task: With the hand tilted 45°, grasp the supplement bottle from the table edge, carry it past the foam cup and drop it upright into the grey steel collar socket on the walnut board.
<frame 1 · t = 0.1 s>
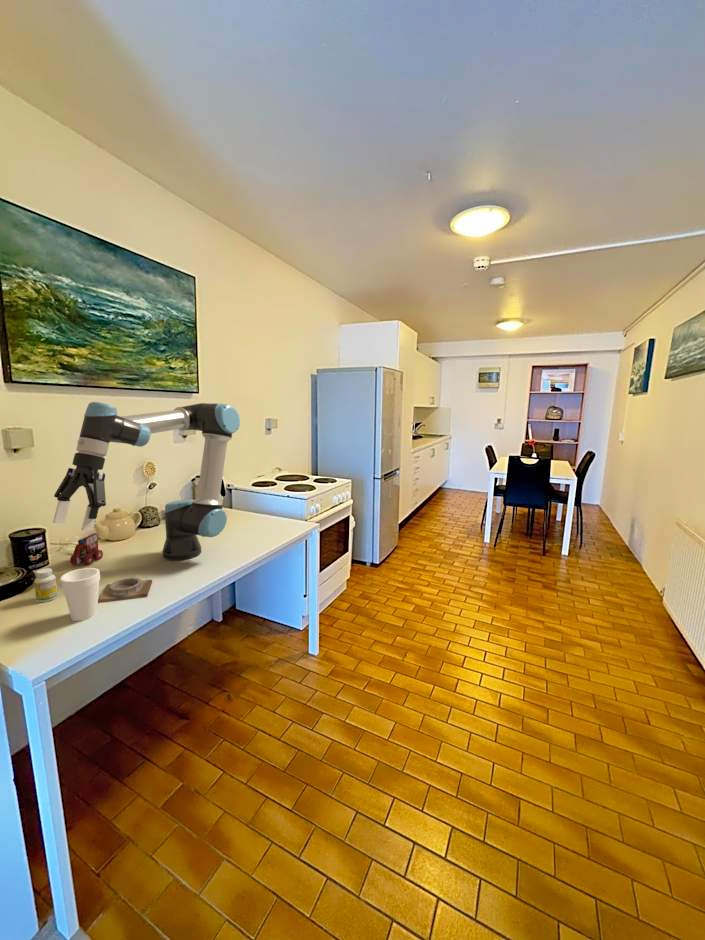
hand: (72, 526, 110), 28 cm above the table, tool tilted 20°, fingers open, 13 cm apart
foam cup: (84, 615, 115), on the table
socket board: (126, 591, 130), on the table
supplement bottle: (47, 599, 124), on the table
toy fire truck: (87, 562, 153), on the table
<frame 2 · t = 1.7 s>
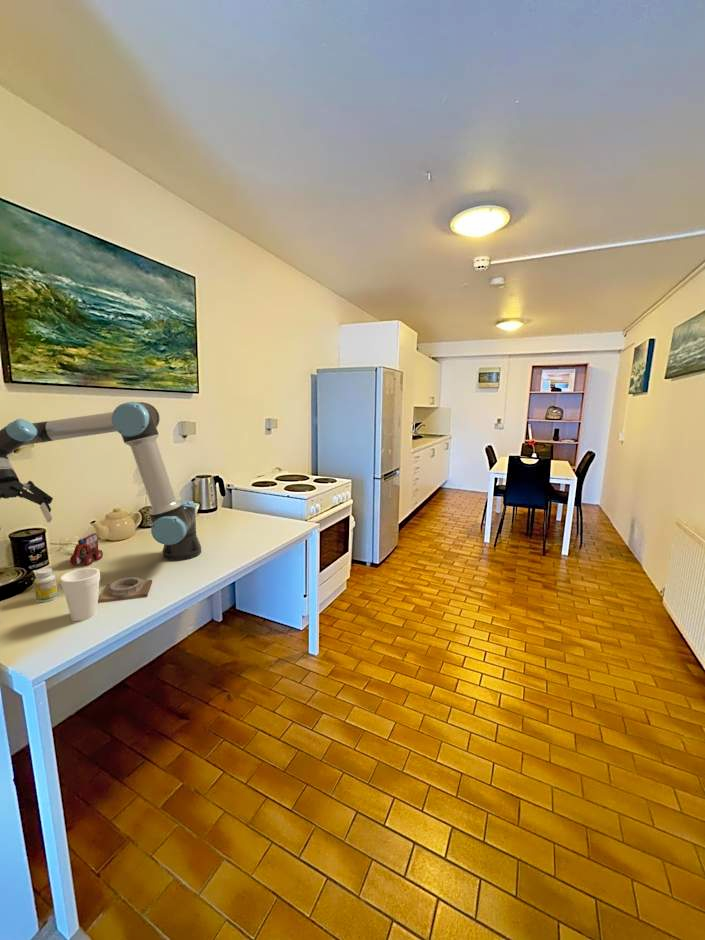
hand: (25, 525, 125), 23 cm above the table, tool tilted 45°, fingers open, 13 cm apart
nothing on the table moved.
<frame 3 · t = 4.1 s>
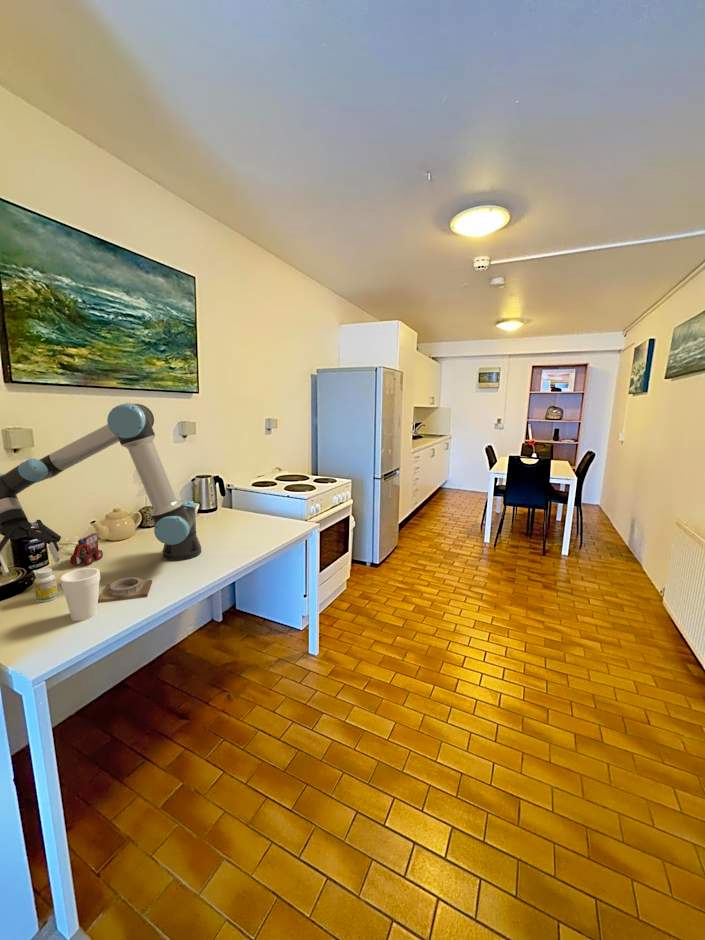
hand: (33, 567, 124), 10 cm above the table, tool tilted 45°, fingers open, 13 cm apart
nothing on the table moved.
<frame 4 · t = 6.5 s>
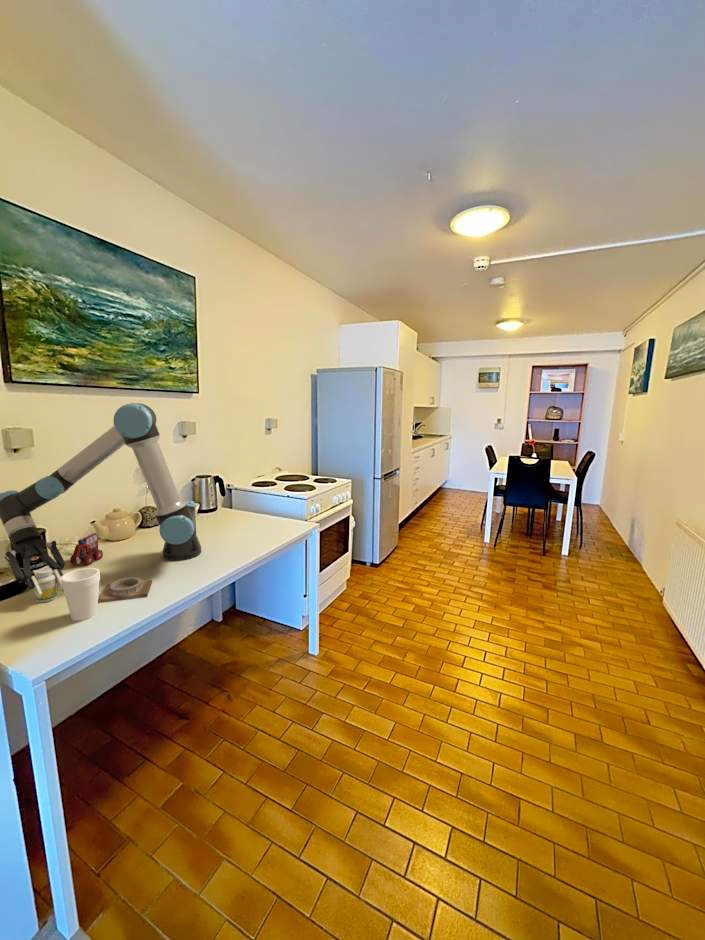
hand: (51, 591, 122), 3 cm above the table, tool tilted 45°, fingers closed on supplement bottle, 5 cm apart
supplement bottle: (47, 599, 124), on the table, touching gripper
everything else where it was.
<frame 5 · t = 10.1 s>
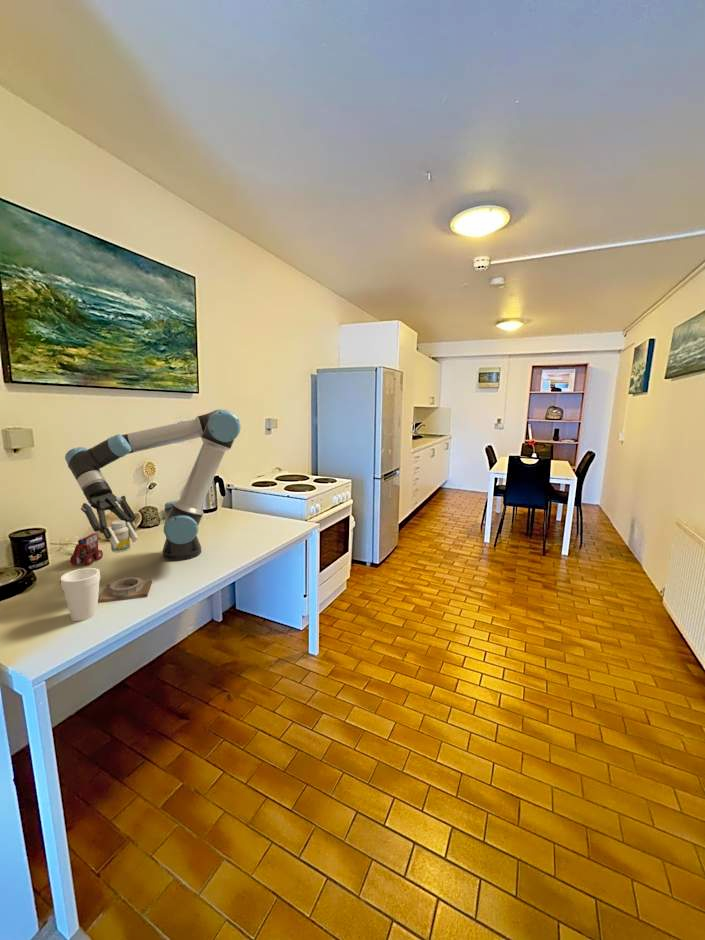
hand: (126, 542, 125), 18 cm above the table, tool tilted 45°, fingers closed on supplement bottle, 5 cm apart
supplement bottle: (121, 550, 127), point 15 cm above the table, touching gripper
everything else where it was.
when the fingers open (6 cm above the table, at t = 13.5 s): supplement bottle drops 1 cm, resting on socket board.
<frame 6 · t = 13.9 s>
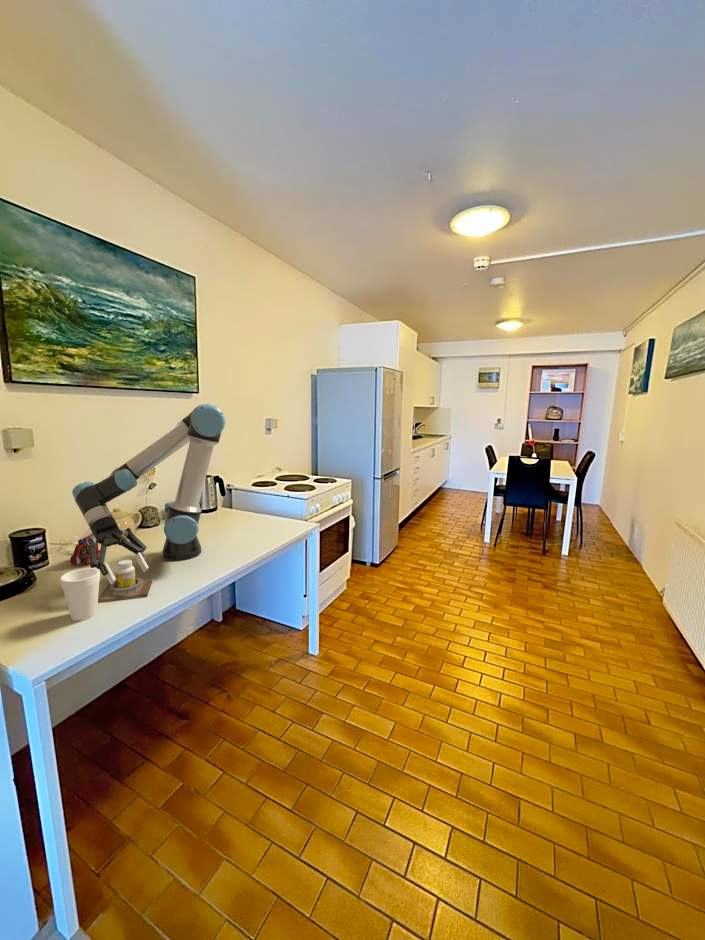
hand: (130, 575, 127), 7 cm above the table, tool tilted 45°, fingers open, 10 cm apart
supplement bottle: (127, 589, 130), point 1 cm above the table, touching socket board
everything else where it was.
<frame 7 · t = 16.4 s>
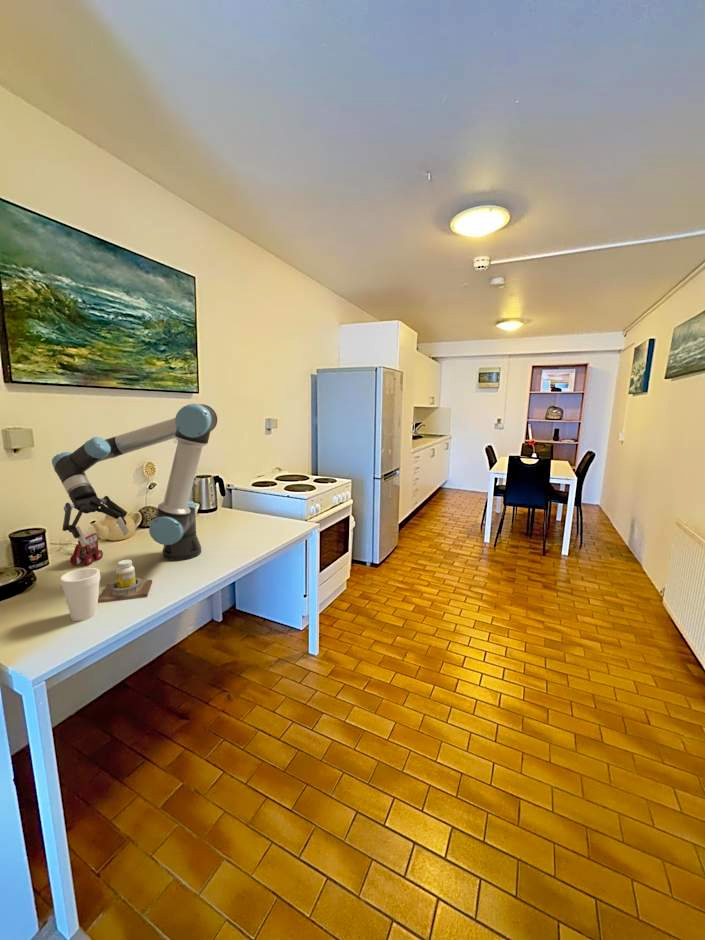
hand: (106, 538, 132), 17 cm above the table, tool tilted 45°, fingers open, 13 cm apart
nothing on the table moved.
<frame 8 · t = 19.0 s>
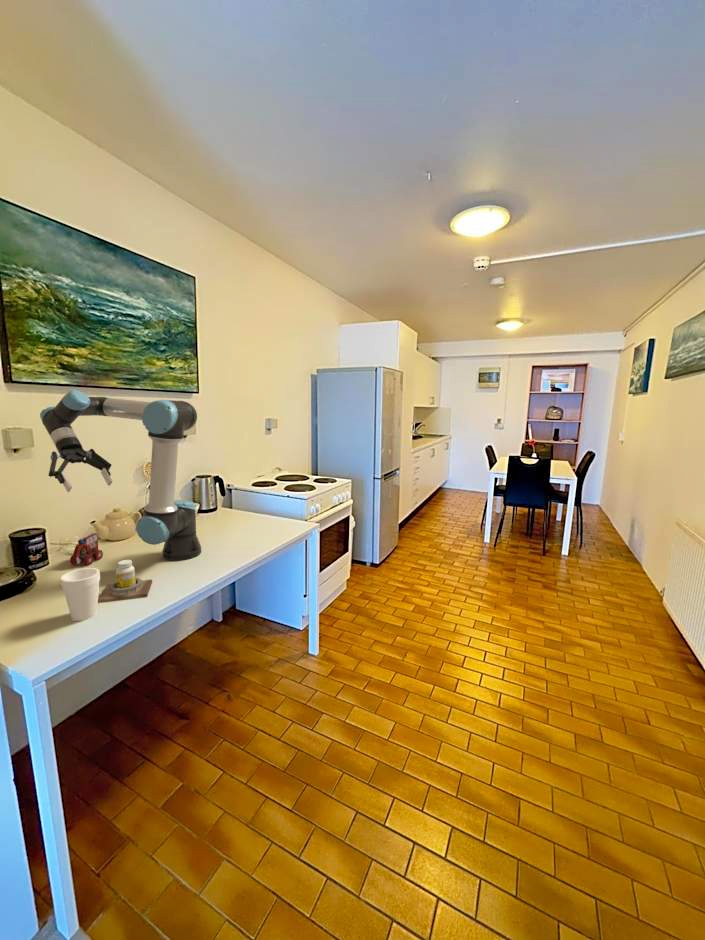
hand: (90, 486, 140), 33 cm above the table, tool tilted 45°, fingers open, 13 cm apart
nothing on the table moved.
at the end: supplement bottle 0.1 cm off-centre on the socket board, point 0.8 cm above the socket board's base; supplement bottle tilted 0°; the gripper is holding nothing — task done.
